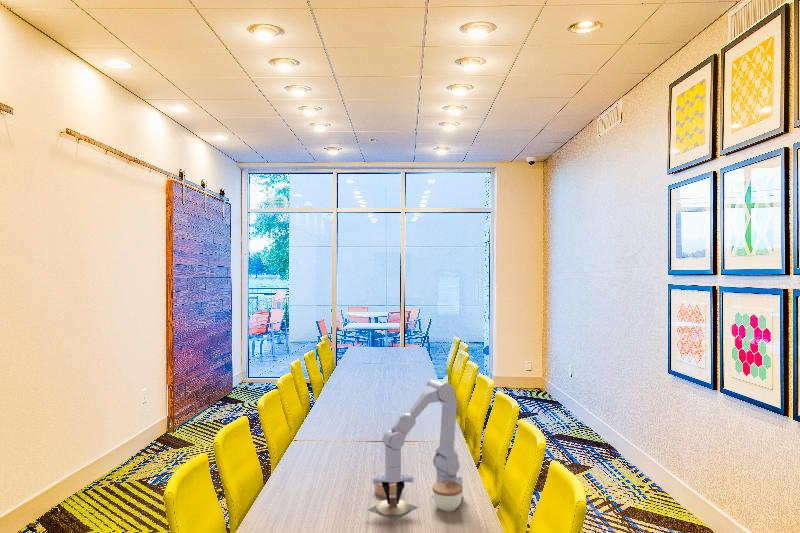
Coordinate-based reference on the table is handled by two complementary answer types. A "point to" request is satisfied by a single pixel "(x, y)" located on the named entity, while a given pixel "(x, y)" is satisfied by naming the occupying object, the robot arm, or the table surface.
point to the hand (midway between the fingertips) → (392, 502)
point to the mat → (393, 516)
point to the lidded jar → (447, 495)
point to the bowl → (380, 490)
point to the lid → (393, 507)
